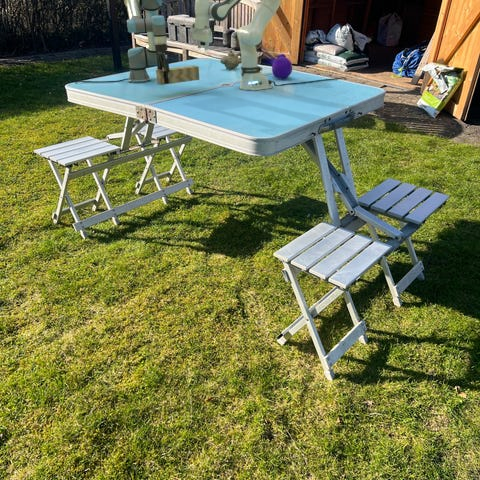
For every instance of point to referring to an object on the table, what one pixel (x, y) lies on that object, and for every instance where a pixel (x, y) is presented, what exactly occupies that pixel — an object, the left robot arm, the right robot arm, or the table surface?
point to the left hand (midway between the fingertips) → (164, 82)
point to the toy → (280, 66)
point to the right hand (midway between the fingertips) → (203, 49)
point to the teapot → (231, 60)
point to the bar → (178, 74)
